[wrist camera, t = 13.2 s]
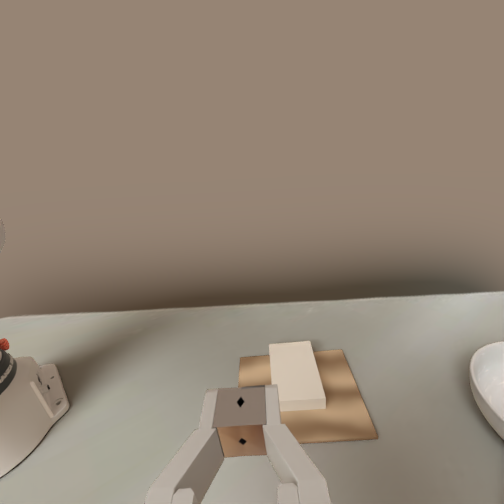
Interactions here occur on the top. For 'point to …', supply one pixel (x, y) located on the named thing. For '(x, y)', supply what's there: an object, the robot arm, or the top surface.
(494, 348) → the serving bowl
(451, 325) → the top surface
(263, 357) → the wooden board
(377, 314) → the top surface
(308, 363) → the tile
